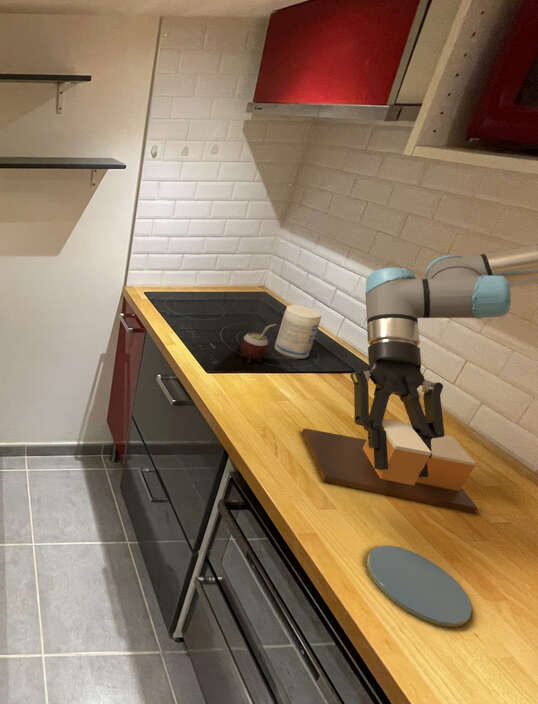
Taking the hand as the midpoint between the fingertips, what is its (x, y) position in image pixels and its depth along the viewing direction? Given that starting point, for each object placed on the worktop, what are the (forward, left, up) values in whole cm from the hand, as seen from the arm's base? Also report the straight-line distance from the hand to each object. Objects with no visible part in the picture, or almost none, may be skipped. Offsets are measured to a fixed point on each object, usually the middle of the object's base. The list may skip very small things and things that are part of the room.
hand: (400, 472), depth 77 cm
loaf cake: (-7, -22, -13) cm, 27 cm away
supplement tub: (+21, -66, -14) cm, 71 cm away
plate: (-6, +9, -14) cm, 18 cm away
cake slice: (+1, -3, -2) cm, 4 cm away
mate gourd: (+30, -53, -14) cm, 63 cm away
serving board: (-1, -20, -14) cm, 25 cm away
